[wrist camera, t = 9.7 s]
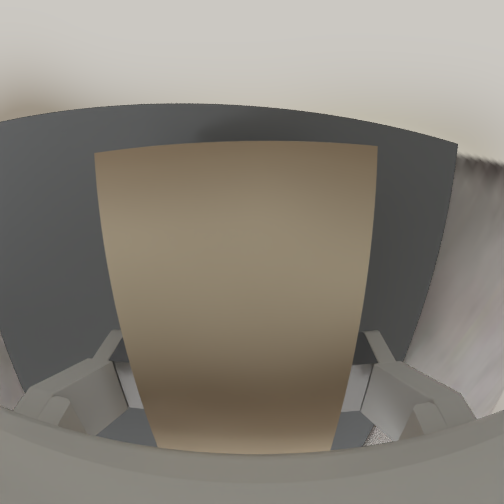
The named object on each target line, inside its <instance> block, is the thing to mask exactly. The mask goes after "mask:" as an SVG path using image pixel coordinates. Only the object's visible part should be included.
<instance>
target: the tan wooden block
mask: <svg viewBox="0 0 504 504" xmlns="http://www.w3.org/2000/svg"><path fill="white" fill-rule="evenodd" d="M377 151H378V146H371V145H359V144H346V143H331V142H306V141H227V142H202V143H185V144H171V145H158V146H148V147H138V148H129V149H121V150H113V151H105V152H98V153H94V157H95V172H96V184H97V194H98V203H99V212H100V220H101V228H102V235H103V241H104V248H105V254H106V260H107V266H108V271H109V277H110V282H111V287H112V292H113V297H114V302H115V306H116V311H117V315H118V319H119V324H120V328H121V332H122V336H123V340H124V344H125V348H126V351H127V355H128V359H129V362H130V366H131V369H132V373H133V376H134V379H135V383H136V386H137V389H138V392H139V395H140V398H141V401H142V404H143V407H144V410H145V413H146V416H147V419H148V422H149V425H150V427H151V430H152V433H153V436H154V438H155V441H156V443H157V446H158V447H159V448H167V449H175V450H185V451H195V452H209V453H228V454H287V453H306V452H320V451H330V449H331V446H332V443H333V439H334V436H335V432H336V428H337V425H338V421H339V417H340V413H341V410H342V406H343V402H344V397H345V393H346V389H347V385H348V380H349V376H350V372H351V367H352V362H353V357H354V352H355V347H356V342H357V337H358V332H359V326H360V320H361V314H362V308H363V302H364V296H365V289H366V282H367V274H368V267H369V259H370V250H371V241H372V231H373V220H374V208H375V194H376V176H377Z"/></svg>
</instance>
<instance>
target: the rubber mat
mask: <svg viewBox="0 0 504 504" xmlns="http://www.w3.org/2000/svg"><path fill="white" fill-rule="evenodd" d="M227 141H306V142H331V143H346V144H359V145H371V146H378V151H377V176H376V194H375V208H374V220H373V231H372V241H371V250H370V259H369V267H368V274H367V282H366V289H365V296H364V302H363V308H362V314H361V320H360V326H359V332H364V331H373V330H378V331H379V332H380V334H381V335H382V337H383V339H384V341H385V342H386V344H387V346H388V348H389V349H390V351H391V353H392V355H393V357H394V358H395V360H396V361H402V362H403V360H404V358H405V355H406V353H407V350H408V348H409V345H410V342H411V340H412V337H413V334H414V331H415V329H416V326H417V323H418V320H419V317H420V314H421V311H422V308H423V305H424V302H425V299H426V296H427V293H428V289H429V286H430V282H431V279H432V276H433V272H434V268H435V265H436V261H437V257H438V253H439V249H440V245H441V241H442V236H443V232H444V227H445V223H446V218H447V213H448V208H449V203H450V197H451V191H452V185H453V179H454V172H455V165H456V157H457V148H458V144H456V143H453V142H449V141H446V140H443V139H439V138H436V137H432V136H428V135H424V134H421V133H417V132H412V131H409V130H404V129H400V128H396V127H391V126H387V125H382V124H377V123H372V122H367V121H362V120H357V119H351V118H345V117H339V116H333V115H327V114H319V113H312V112H305V111H297V110H288V109H279V108H268V107H256V106H242V105H223V104H138V105H120V106H107V107H95V108H85V109H76V110H67V111H60V112H53V113H47V114H40V115H34V116H28V117H22V118H17V119H12V120H7V121H2V122H0V331H1V334H2V337H3V340H4V343H5V346H6V348H7V351H8V354H9V356H10V359H11V362H12V364H13V367H14V369H15V371H16V374H17V376H18V379H19V381H20V383H21V385H22V388H23V390H24V392H25V393H26V392H27V390H28V389H29V388H30V387H31V386H33V385H35V384H37V383H39V382H41V381H43V380H45V379H47V378H49V377H51V376H53V375H55V374H57V373H59V372H61V371H63V370H65V369H67V368H69V367H71V366H73V365H75V364H77V363H79V362H81V361H83V360H85V359H87V358H91V359H92V358H93V357H94V355H95V354H96V352H97V351H98V349H99V348H100V346H101V345H102V343H103V342H104V340H105V339H106V337H107V336H108V334H109V333H110V332H111V330H114V329H117V330H121V328H120V324H119V319H118V315H117V311H116V306H115V302H114V297H113V292H112V287H111V282H110V277H109V271H108V266H107V260H106V254H105V248H104V241H103V235H102V228H101V220H100V212H99V203H98V194H97V184H96V172H95V157H94V153H98V152H105V151H113V150H121V149H129V148H138V147H148V146H158V145H171V144H185V143H202V142H227ZM373 426H374V424H373V423H372V422H371V421H370V420H369V419H368V418H367V417H366V416H365V415H364V414H362V413H361V410H360V411H349V412H341V413H340V417H339V421H338V425H337V428H336V432H335V436H334V439H333V443H332V446H331V449H330V451H331V450H340V449H348V448H356V447H362V446H363V444H364V443H365V441H366V439H367V437H368V435H369V433H370V431H371V429H372V428H373ZM96 436H98V437H103V438H107V439H112V440H117V441H122V442H127V443H133V444H139V445H145V446H152V447H158V446H157V443H156V441H155V438H154V436H153V433H152V430H151V427H150V425H149V422H148V419H147V416H146V413H145V410H144V409H140V408H131V407H128V409H127V410H126V411H125V412H124V413H122V414H121V415H120V416H119V417H118V418H116V419H115V420H114V421H113V422H112V423H110V424H109V425H108V426H107V427H105V428H104V429H103V430H102V431H101V432H99V433H98V434H97V435H96Z"/></svg>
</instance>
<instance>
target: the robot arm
mask: <svg viewBox="0 0 504 504" xmlns="http://www.w3.org/2000/svg"><path fill="white" fill-rule="evenodd" d="M128 407H131V408H140V409H144V407H143V404H142V401H141V398H140V395H139V392H138V389H137V386H136V383H135V379H134V376H133V373H132V369H131V366H130V362H129V359H128V355H127V351H126V348H125V344H124V340H123V336H122V332H121V330H117V329H114V330H111V332H110V333H109V334H108V336H107V337H106V339H105V340H104V342H103V343H102V345H101V346H100V348H99V349H98V351H97V352H96V354H95V355H94V357H93V358H92V359H91V358H87V359H85V360H83V361H81V362H79V363H77V364H75V365H73V366H71V367H69V368H67V369H65V370H63V371H61V372H59V373H57V374H55V375H53V376H51V377H49V378H47V379H45V380H43V381H41V382H39V383H37V384H35V385H33V386H31V387H30V388H29V389H28V390H27V392H26V393H25V394H24V396H23V397H22V398H21V400H20V401H19V403H18V404H17V405H16V407H15V408H14V410H13V411H12V410H9V409H7V408H4V407H2V406H0V504H504V410H502V411H499V412H497V413H494V414H491V415H489V416H486V417H483V418H480V419H476V418H475V416H474V414H473V413H472V411H471V409H470V408H469V406H468V404H467V403H466V401H465V400H464V398H463V396H462V395H461V394H460V393H459V392H457V391H455V390H453V389H451V388H449V387H447V386H445V385H444V384H442V383H440V382H438V381H436V380H434V379H433V378H431V377H429V376H427V375H425V374H423V373H422V372H420V371H418V370H416V369H414V368H412V367H411V366H409V365H407V364H405V363H403V362H402V361H396V360H395V358H394V357H393V355H392V353H391V351H390V349H389V348H388V346H387V344H386V342H385V341H384V339H383V337H382V335H381V334H380V332H379V331H378V330H373V331H364V332H358V337H357V342H356V347H355V352H354V357H353V362H352V367H351V372H350V376H349V380H348V385H347V389H346V393H345V397H344V402H343V406H342V410H341V412H349V411H360V410H361V413H362V414H364V415H365V416H366V417H367V418H368V419H369V420H370V421H371V422H372V423H373V424H375V425H376V426H377V427H378V428H379V429H380V430H381V431H382V432H383V433H385V434H386V435H387V436H388V437H389V438H390V439H391V440H392V441H393V442H387V443H382V444H376V445H370V446H363V447H356V448H348V449H340V450H331V451H320V452H306V453H287V454H228V453H209V452H195V451H185V450H175V449H167V448H159V447H152V446H145V445H139V444H133V443H127V442H122V441H117V440H112V439H107V438H103V437H98V436H96V435H97V434H98V433H99V432H101V431H102V430H103V429H104V428H105V427H107V426H108V425H109V424H110V423H112V422H113V421H114V420H115V419H116V418H118V417H119V416H120V415H121V414H122V413H124V412H125V411H126V410H127V409H128Z"/></svg>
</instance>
